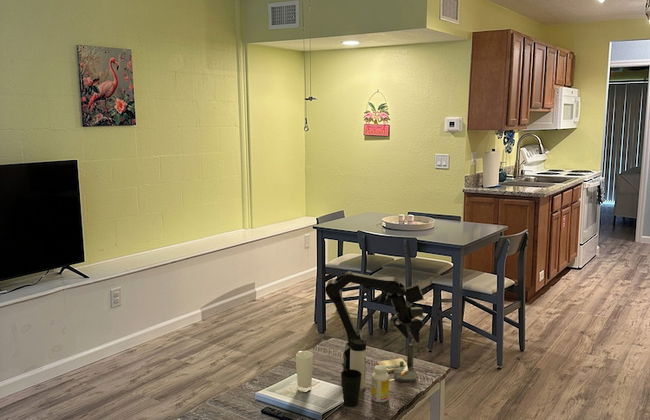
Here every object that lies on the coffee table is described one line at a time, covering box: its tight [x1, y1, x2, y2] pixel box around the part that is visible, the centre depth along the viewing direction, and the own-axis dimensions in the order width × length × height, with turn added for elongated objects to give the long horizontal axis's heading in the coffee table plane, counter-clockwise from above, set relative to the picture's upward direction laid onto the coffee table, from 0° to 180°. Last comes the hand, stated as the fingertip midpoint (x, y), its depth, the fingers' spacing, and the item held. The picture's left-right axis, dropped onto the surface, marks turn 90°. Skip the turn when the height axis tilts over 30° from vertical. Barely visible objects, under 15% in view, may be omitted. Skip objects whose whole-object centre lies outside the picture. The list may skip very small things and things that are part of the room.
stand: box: [376, 357, 407, 374], centre depth 256 cm, size 12×9×3 cm
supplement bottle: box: [370, 364, 390, 403], centre depth 227 cm, size 7×7×13 cm
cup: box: [340, 369, 362, 408], centre depth 223 cm, size 8×8×12 cm
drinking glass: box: [295, 350, 314, 388], centre depth 234 cm, size 7×7×15 cm
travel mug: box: [350, 339, 367, 392], centre depth 235 cm, size 6×7×20 cm
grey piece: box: [393, 343, 417, 384], centre depth 246 cm, size 12×9×12 cm
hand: (412, 340), depth 251 cm, fingers open, 9 cm apart
